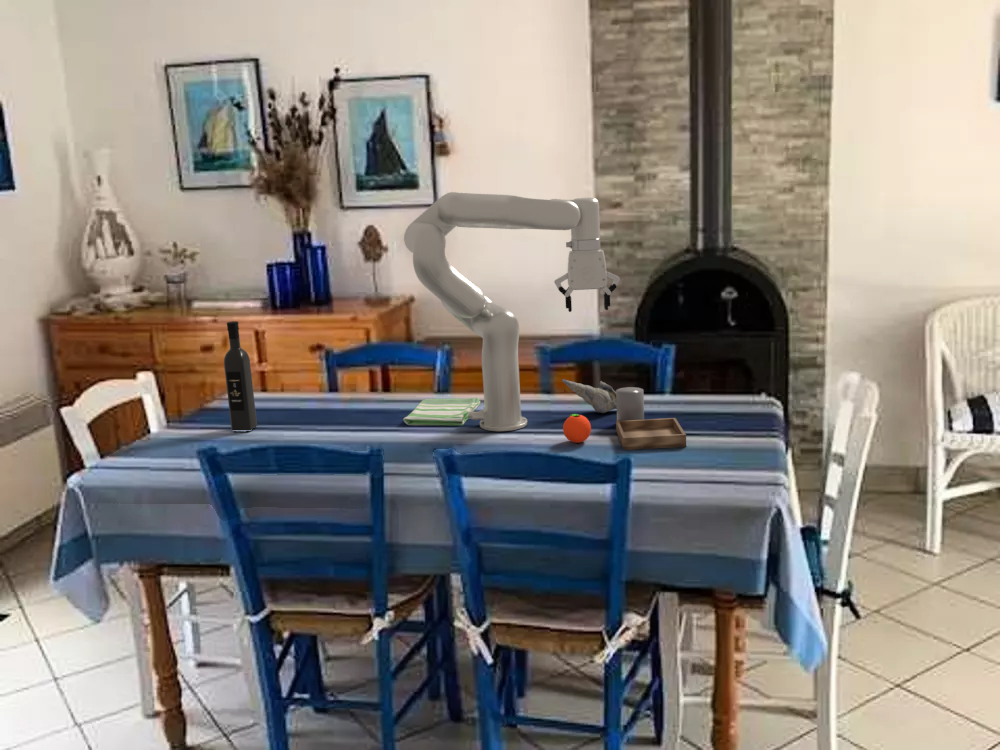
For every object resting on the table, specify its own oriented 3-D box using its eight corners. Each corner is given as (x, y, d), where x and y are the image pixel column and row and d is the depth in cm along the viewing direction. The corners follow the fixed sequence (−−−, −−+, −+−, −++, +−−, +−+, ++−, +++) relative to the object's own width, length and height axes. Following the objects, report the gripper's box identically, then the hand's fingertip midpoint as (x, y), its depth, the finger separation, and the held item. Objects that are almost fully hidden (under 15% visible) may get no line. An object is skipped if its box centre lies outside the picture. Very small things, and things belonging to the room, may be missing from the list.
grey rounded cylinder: (618, 428, 263) (617, 394, 261) (615, 421, 270) (614, 388, 268) (646, 427, 263) (645, 393, 261) (642, 419, 270) (641, 386, 268)
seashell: (625, 416, 274) (624, 379, 271) (562, 416, 277) (560, 380, 275) (627, 406, 283) (626, 371, 281) (566, 406, 286) (565, 372, 284)
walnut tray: (623, 450, 245) (623, 438, 244) (616, 432, 260) (616, 421, 259) (686, 446, 245) (686, 434, 244) (675, 429, 259) (675, 417, 259)
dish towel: (481, 404, 296) (481, 395, 295) (465, 427, 274) (464, 417, 273) (421, 405, 299) (421, 395, 299) (400, 427, 277) (399, 417, 276)
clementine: (557, 439, 256) (556, 412, 255) (582, 435, 259) (581, 408, 257) (570, 447, 249) (569, 419, 247) (596, 443, 251) (595, 415, 250)
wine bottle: (249, 432, 278) (237, 323, 271) (230, 432, 279) (217, 324, 272) (258, 427, 283) (246, 320, 276) (239, 426, 284) (227, 320, 278)
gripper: (553, 248, 265) (556, 314, 269) (620, 245, 265) (622, 310, 269) (552, 245, 273) (554, 309, 276) (617, 242, 272) (619, 306, 276)
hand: (588, 310), depth 273 cm, fingers open, 9 cm apart
